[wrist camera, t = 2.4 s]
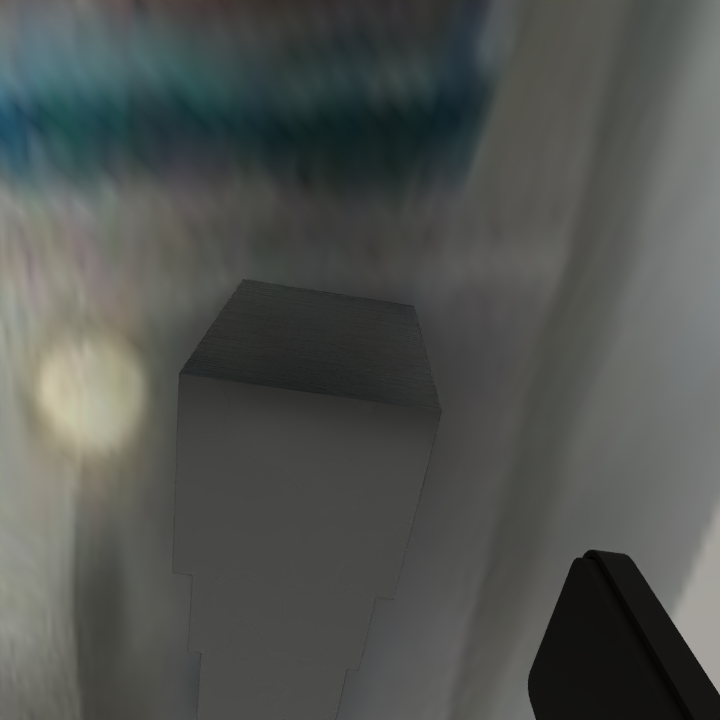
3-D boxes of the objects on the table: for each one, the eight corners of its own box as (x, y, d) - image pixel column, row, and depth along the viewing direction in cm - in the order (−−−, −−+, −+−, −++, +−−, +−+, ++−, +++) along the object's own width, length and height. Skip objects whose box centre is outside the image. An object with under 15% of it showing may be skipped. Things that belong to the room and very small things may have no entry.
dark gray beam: (243, 278, 13) (178, 374, 8) (413, 305, 13) (442, 411, 9) (208, 719, 19) (162, 907, 15) (322, 731, 20) (310, 919, 15)
